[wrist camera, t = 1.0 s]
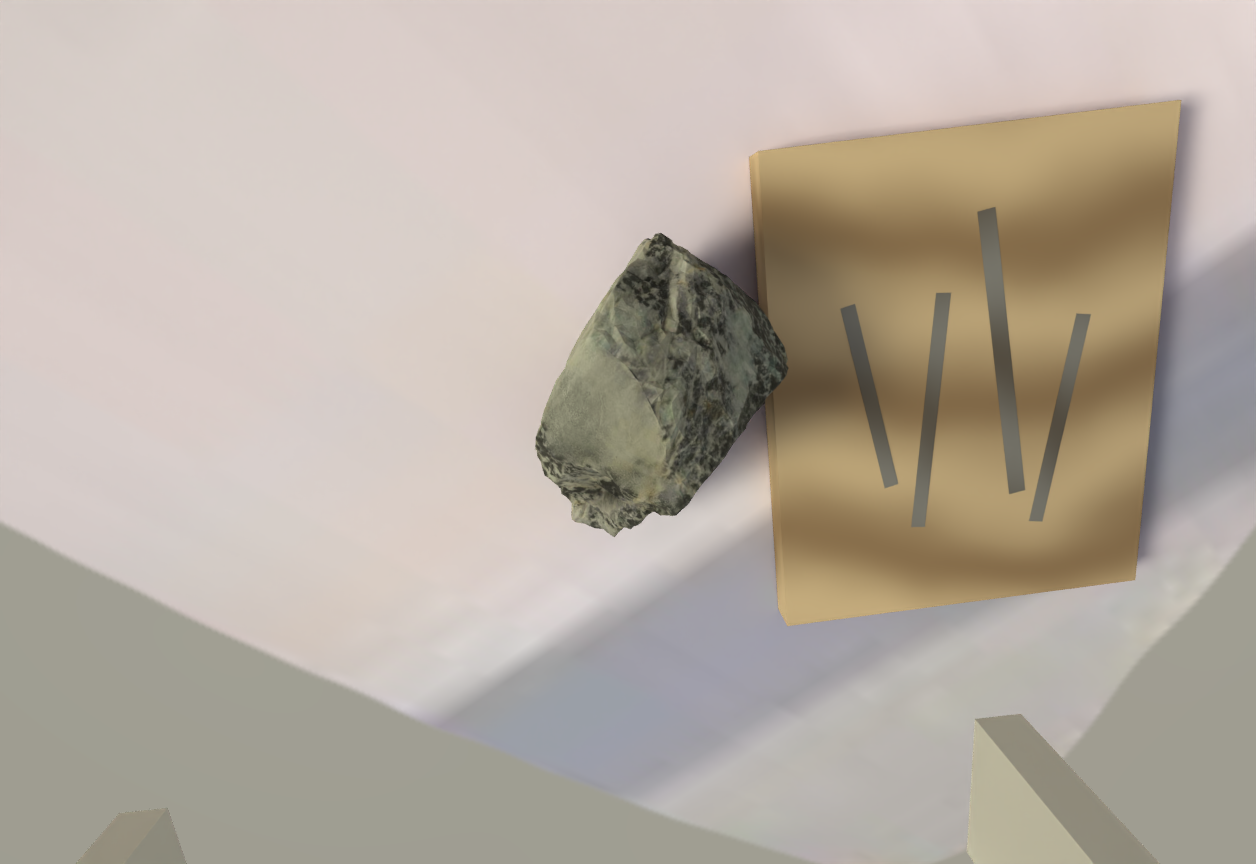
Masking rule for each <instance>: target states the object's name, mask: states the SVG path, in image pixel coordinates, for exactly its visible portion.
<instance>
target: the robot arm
mask: <svg viewBox="0 0 1256 864" xmlns="http://www.w3.org/2000/svg"><path fill="white" fill-rule="evenodd" d="M967 853H968V854H969V856H970V857H971V859H972V861H973V862H974V864H1160V863H1159V862H1158V861H1157V860H1156V859H1155V858H1154V857H1153V856H1152V854H1150V853H1149V851H1148V850H1147V849H1146V848H1145V847H1144V846H1143V845H1142V844H1141V843H1140V842H1139V841H1138V839H1137V838H1136V837H1135V836H1134V835H1133V834H1132V833H1131V832H1130V831H1129V830H1128V829H1127V828H1126V827H1125V826H1124V824H1123V823H1122V822H1121V821H1120V820H1119V819H1118V818H1117V817H1116V816H1115V815H1114V814H1113V813H1112V812H1111V810H1110V809H1108V807H1107V806H1106V805H1105V804H1104V803H1103V802H1102V801H1101V800H1100V799H1099V798H1098V796H1097V795H1096V794H1095V793H1094V792H1093V791H1092V790H1091V789H1090V788H1089V787H1088V786H1087V785H1086V784H1085V783H1084V781H1083V780H1082V779H1081V778H1080V777H1079V776H1078V775H1077V774H1076V773H1075V772H1074V771H1073V770H1072V768H1071V767H1070V766H1069V765H1068V764H1067V763H1066V762H1065V761H1064V760H1063V759H1062V758H1061V757H1060V756H1059V754H1058V753H1057V752H1056V751H1055V750H1054V749H1053V748H1052V747H1051V746H1050V745H1049V744H1048V743H1047V742H1046V740H1045V739H1044V738H1043V737H1042V736H1041V735H1040V734H1039V733H1038V732H1037V731H1036V730H1035V729H1034V728H1033V727H1032V725H1031V724H1030V723H1029V722H1028V721H1027V720H1026V719H1025V718H1024V717H1023V716H1022V715H1021V714H1016V715H1007V716H998V717H989V718H979V719H975V728H974V745H973V761H972V777H971V794H970V810H969V826H968V843H967ZM76 864H187V863H186V861H185V857H184V854H183V852H182V849H181V846H180V843H179V840H178V837H177V834H176V831H175V828H174V825H173V822H172V819H171V816H170V813H169V810H168V808H162V809H154V810H144V811H135V812H125V813H119V814H118V815H117V816H116V818H115V819H114V820H113V821H112V822H111V823H110V824H109V826H108V827H107V828H106V829H105V830H104V831H103V833H102V834H101V835H100V836H99V837H98V838H97V840H96V841H95V842H94V843H93V844H92V845H91V847H90V848H89V849H88V850H87V851H86V852H85V854H84V855H83V856H82V857H81V858H80V859H79V860H78V862H77V863H76Z"/></svg>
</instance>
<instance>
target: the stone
mask: <svg viewBox="0 0 1256 864" xmlns="http://www.w3.org/2000/svg"><path fill="white" fill-rule="evenodd" d="M787 361H788V358H787V354H786V350H785V347H784V345H783V344H782V342H781V340H780V339H779V337H778V336H777V334H776V333H775V331H774V330H773V327H772V325H771V323H770V321H769V319H768V318H767V316H766V315H765V313H764V312H763V311H762V309H761V308H760V307H759V306H758V305H757V303H756V302H755V301H754V300H753V299H751V298H750V297H749V296H747V295H746V294H745V293H744V292H743V291H742V290H741V289H740V288H739V287H738V286H737V285H735V284H734V283H733V282H732V281H731V280H730V279H729V278H728V277H727V276H726V275H724V274H722V273H721V272H719V271H718V270H717V269H716V268H714V267H712V266H710V265H708V264H707V263H705V262H703V261H702V260H700V259H698V258H697V257H695V256H694V255H692V254H691V253H690V252H689V251H688V250H686V249H684V248H683V247H680V246H677V245H675V244H674V243H673V242H672V240H671V239H669V238H668V237H666V236H665V235H663V234H662V233H658V234H655V235H654V237H653V238H652V239H649V238H648V239H645V240H644V241H643V242H642V243H641V244H640V245H639V246H638V248H637V250H636V252H635V253H634V255H633V257H632V259H631V260H630V261H629V263H628V265H627V267H626V269H625V270H624V272H623V273H622V274H621V275H620V276H619V277H618V278H617V279H616V280H615V282H614V283H613V285H612V287H611V288H610V290H609V291H608V293H607V294H606V296H605V297H604V298H603V300H602V301H601V303H600V304H599V306H598V308H597V310H596V311H595V313H594V314H593V316H592V317H591V319H590V320H589V322H588V323H587V325H586V326H585V328H584V329H583V331H582V333H581V335H580V336H579V338H578V340H577V342H576V344H575V346H574V348H573V349H572V352H571V354H570V356H569V358H568V360H567V363H566V367H565V369H564V370H563V372H562V373H561V375H560V376H559V378H558V379H557V380H556V383H555V385H554V388H553V390H552V393H551V395H550V398H549V400H548V402H547V405H546V407H545V409H544V413H543V417H542V420H541V425H540V427H539V430H538V433H537V436H536V445H535V447H536V448H535V449H536V450H537V456H538V458H539V459H540V461H541V464H542V468H543V471H544V474H545V476H547V477H548V478H549V479H551V480H552V481H553V482H554V483H555V484H556V485H558V487H559V488H561V494H563V495H564V496H566V497H567V498H568V499H569V500H570V501H571V503H572V512H571V516H572V519H573V520H574V521H575V522H578V523H584V524H587V525H589V526H591V527H594V528H599V529H604V530H605V531H606V532H607V533H609V534H610V535H612V536H613V537H615V536H616V535H617V534H618V532H619V531H620V530H622V529H623V527H626V528H629V529H631V528H632V527H633V526H636V525H638V524H640V523H641V522H642V521H643V520H644V518H645V517H646V516H647V515H648V514H650V513H652V512H656V513H658V514H659V515H670V516H674V515H677V514H678V513H679V512H680V511H681V510H682V509H683V508H685V507H686V506H687V505H688V504H689V502H690V501H691V499H692V498H693V496H694V494H695V493H696V492H697V490H698V489H699V487H700V486H701V485H702V483H703V482H704V481H705V480H706V479H707V478H708V477H709V476H710V475H711V473H712V472H713V471H714V470H715V469H716V467H717V466H718V465H719V464H720V463H721V461H722V460H723V459H724V457H725V456H726V454H727V453H728V451H729V449H730V448H731V446H732V445H733V443H734V442H735V441H736V439H737V438H738V437H739V436H740V435H741V433H742V432H743V431H744V430H745V429H746V426H747V423H748V421H749V420H750V418H751V417H752V416H753V414H754V413H755V412H756V411H757V410H758V409H759V408H760V407H761V406H762V405H763V404H764V402H765V400H766V398H767V397H768V396H769V395H770V394H771V393H772V392H773V391H774V390H775V389H776V388H777V387H778V386H779V384H780V383H781V382H782V380H783V379H784V378H785V377H786V375H787V371H788V369H789V368H788V366H787V364H786V363H787Z"/></svg>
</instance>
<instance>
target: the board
mask: <svg viewBox="0 0 1256 864" xmlns="http://www.w3.org/2000/svg"><path fill="white" fill-rule="evenodd" d="M1180 107H1181V100H1176V101H1168V102H1159V103H1151V104H1143V105H1135V106H1127V107H1118V108H1110V109H1102V110H1094V111H1085V112H1077V113H1069V114H1061V115H1052V116H1044V117H1036V118H1028V119H1019V120H1011V121H1003V122H995V123H987V124H978V125H970V126H962V127H954V128H945V129H937V130H929V131H921V132H912V133H904V134H896V135H888V136H880V137H871V138H863V139H855V140H847V141H838V142H830V143H822V144H814V145H805V146H797V147H789V148H781V149H773V150H764V151H758V152H756V153H755V154H753V155H752V156H750V157H749V163H750V179H751V194H752V209H753V225H754V240H755V255H756V271H757V286H758V302H759V307H760V308H761V309H762V311H763V312H764V313H765V315H766V316H767V318H768V319H769V321H770V323H771V325H772V327H773V330H774V331H775V333H776V334H777V336H778V337H779V339H780V340H781V342H782V344H783V345H784V347H785V350H786V354H787V358H788V361H787V363H786V364H787V366H788V368H789V369H788V371H787V375H786V377H785V378H784V379H783V380H782V382H781V383H780V384H779V386H778V387H777V388H776V389H775V390H774V391H773V392H772V393H771V394H770V395H769V396H768V397H767V398H766V400H765V409H766V425H767V440H768V456H769V471H770V486H771V502H772V517H773V533H774V548H775V563H776V579H777V594H778V609H779V611H780V613H781V615H782V616H783V618H784V620H785V622H786V624H787V626H791V625H798V624H806V623H813V622H821V621H829V620H836V619H844V618H851V617H859V616H866V615H874V614H882V613H889V612H897V611H904V610H912V609H919V608H927V607H935V606H942V605H950V604H957V603H965V602H972V601H980V600H988V599H995V598H1003V597H1010V596H1018V595H1025V594H1033V593H1041V592H1048V591H1056V590H1063V589H1071V588H1079V587H1086V586H1094V585H1101V584H1109V583H1116V582H1124V581H1132V580H1135V577H1136V566H1137V556H1138V545H1139V535H1140V525H1141V514H1142V504H1143V493H1144V483H1145V472H1146V462H1147V452H1148V441H1149V431H1150V420H1151V410H1152V399H1153V389H1154V379H1155V368H1156V358H1157V347H1158V337H1159V326H1160V316H1161V306H1162V295H1163V285H1164V274H1165V264H1166V253H1167V243H1168V233H1169V222H1170V212H1171V201H1172V191H1173V180H1174V170H1175V160H1176V149H1177V139H1178V128H1179V118H1180Z"/></svg>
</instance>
